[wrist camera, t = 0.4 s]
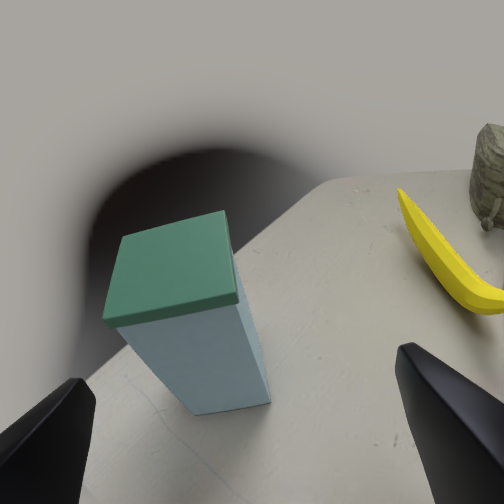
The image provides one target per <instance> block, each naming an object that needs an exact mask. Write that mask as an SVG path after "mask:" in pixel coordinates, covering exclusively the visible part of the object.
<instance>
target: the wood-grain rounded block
mask: <svg viewBox="0 0 504 504" xmlns="http://www.w3.org/2000/svg"><path fill="white" fill-rule="evenodd" d="M469 193H470V199H471V204H472V207H473V210H474V212H475V214H476V215H477V217H478V218H479V219H481V220H482V223H481V226H482V228H483V229H484V230H485V231H490V230H492V228H493V225H494V226H496V227H499V228H502V229H504V127H503V126H499V125H495V124H486V125H485V126H484V127H483V129H482V130H481V131H480V133H479V134H478V136H477V143H476V149H475V156H474V162H473V168H472V173H471V179H470V188H469Z"/></svg>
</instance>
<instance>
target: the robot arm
mask: <svg viewBox="0 0 504 504" xmlns="http://www.w3.org/2000/svg"><path fill="white" fill-rule="evenodd" d="M395 374H396V378H397V382H398V386H399V389H400V393H401V397H402V401H403V405H404V409H405V413H406V417H407V421H408V424H409V427H410V430H411V433H412V435H413V438H414V441H415V444H416V447H417V449H418V452H419V455H420V458H421V461H422V464H423V467H424V470H425V473H426V476H427V479H428V482H429V485H430V488H431V491H432V495H433V498H434V501H435V504H504V403H502V402H501V401H499V400H498V399H497V398H495V397H494V396H492V395H491V394H489V393H488V392H486V391H485V390H483V389H482V388H481V387H479V386H478V385H476V384H475V383H473V382H472V381H470V380H469V379H467V378H466V377H464V376H463V375H462V374H460V373H459V372H457V371H456V370H454V369H453V368H451V367H450V366H448V365H447V364H445V363H444V362H442V361H441V360H439V359H438V358H436V357H435V356H433V355H432V354H430V353H429V352H427V351H426V350H425V349H423V348H422V347H420V346H419V345H417V344H416V343H413V342H411V343H407V344H403V345H400V346H399V347H398V350H397V357H396V364H395ZM95 406H96V398H95V395H94V394H93V392H92V391H91V389H90V388H89V387H88V385H87V384H86V382H85V381H84V380H83V379H82V378H70V379H68V380H67V381H66V382H65V383H63V384H62V385H61V386H60V387H58V388H57V389H56V390H55V391H53V392H52V393H51V394H49V395H48V396H47V397H46V398H44V399H43V400H42V401H41V402H39V403H38V404H37V405H36V406H34V407H33V408H32V409H31V410H29V411H28V412H27V413H26V414H25V415H23V416H22V417H21V418H19V419H18V420H17V421H16V422H14V423H13V424H12V425H11V426H9V427H8V428H7V429H6V430H4V431H3V432H2V433H1V434H0V504H79V498H80V493H81V487H82V481H83V476H84V471H85V466H86V461H87V457H88V452H89V447H90V442H91V435H92V427H93V419H94V412H95Z"/></svg>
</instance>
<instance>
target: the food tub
mask: <svg viewBox="0 0 504 504" xmlns="http://www.w3.org/2000/svg"><path fill="white" fill-rule="evenodd" d="M102 320H103V321H104V323H105V324H106V325H107V326H108V328H109V329H113V328H116V329H117V330H118V331H119V333H120V334H121V335H122V336H123V338H124V339H125V340H126V341H127V343H128V344H129V345H130V346H131V347H132V349H133V350H134V351H135V352H136V353H137V354H138V356H139V357H140V358H141V359H142V360H143V361H144V363H145V364H146V365H147V366H148V367H149V368H150V369H151V370H152V372H153V373H154V374H155V375H156V376H157V377H158V378H159V379H160V380H161V381H162V382H163V384H164V385H165V386H166V387H167V388H168V389H169V390H170V391H171V392H172V393H173V394H174V395H175V396H176V397H177V398H178V399H179V400H180V401H181V402H182V403H183V404H184V405H185V406H186V407H187V408H188V409H189V410H190V411H191V412H192V413H193V414H194V415H202V414H209V413H216V412H223V411H229V410H235V409H241V408H246V407H252V406H257V405H262V404H267V403H271V398H270V393H269V388H268V383H267V378H266V373H265V368H264V362H263V357H262V352H261V347H260V342H259V338H258V335H257V331H256V328H255V325H254V322H253V318H252V315H251V312H250V308H249V305H248V302H247V298H246V295H245V292H244V288H243V285H242V282H241V278H240V275H239V272H238V268H237V265H236V262H235V258H234V255H233V251H232V248H231V242H230V235H229V229H228V221H227V218H226V214H225V211H219V212H214V213H210V214H207V215H202V216H198V217H194V218H191V219H187V220H183V221H179V222H175V223H171V224H167V225H164V226H160V227H157V228H152V229H149V230H145V231H141V232H138V233H134V234H131V235H127V236H123V238H122V241H121V245H120V248H119V252H118V255H117V259H116V263H115V266H114V271H113V274H112V278H111V282H110V287H109V291H108V295H107V299H106V304H105V308H104V313H103V318H102Z"/></svg>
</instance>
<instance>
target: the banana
mask: <svg viewBox="0 0 504 504" xmlns="http://www.w3.org/2000/svg"><path fill="white" fill-rule="evenodd" d="M397 191H398V199H399V203H400V206H401V210H402V213H403V216H404V220H405V223H406V226H407V228H408V231H409V233H410V235H411V237H412V239H413V241H414V243H415V245H416V246H417V248H418V250H419V251H420V253H421V255H422V256H423V258H424V259H425V261H426V263H427V264H428V266H429V267H430V269H431V270H432V272H433V273H434V275H435V276H436V277H437V279H438V280H439V281H440V283H441V284H442V285H443V287H444V288H445V289H446V290H447V291H448V293H449V294H450V295H451V296H452V297H453V298H454V299H455V300H456V301H457V302H458V303H459V304H460V305H462V306H463V307H465V308H466V309H468V310H469V311H472V312H474V313H477V314H483V315H493V314H501V313H504V290H501V289H498V288H495V287H493V286H491V285H489V284H487V283H486V282H485V281H483V280H482V279H481V278H480V277H479V276H478V275H476V274H475V273H474V272H473V271H472V269H471V268H470V267H469V266H468V265H467V264H466V263H465V262H464V261H463V260H462V258H461V257H460V256H459V255H458V254H457V253H456V252H455V250H454V249H453V248H452V247H451V245H450V244H449V243H448V242H447V241H446V239H445V238H444V237H443V236H442V235H441V233H440V232H439V231H438V230H437V228H436V227H435V226H434V225H433V224H432V222H431V221H430V220H429V219H428V218H427V217H426V215H425V214H424V213H423V212H422V211H421V210H420V209H419V208H418V207H417V205H416V204H415V203H414V202H413V201H412V200H411V199H410V198H409V197H408V196H407V195H406V194H405V193H404V192H403V191H402V190H401V189H400V188H398V190H397Z"/></svg>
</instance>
